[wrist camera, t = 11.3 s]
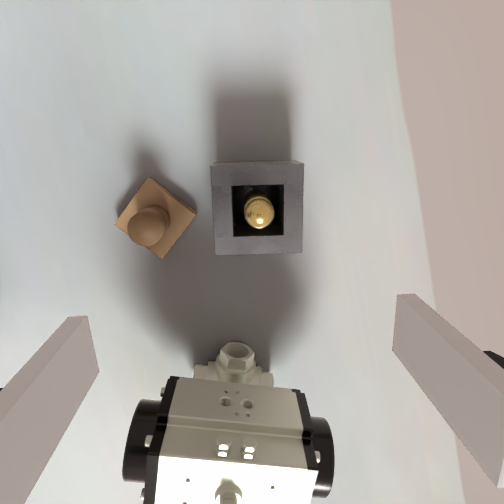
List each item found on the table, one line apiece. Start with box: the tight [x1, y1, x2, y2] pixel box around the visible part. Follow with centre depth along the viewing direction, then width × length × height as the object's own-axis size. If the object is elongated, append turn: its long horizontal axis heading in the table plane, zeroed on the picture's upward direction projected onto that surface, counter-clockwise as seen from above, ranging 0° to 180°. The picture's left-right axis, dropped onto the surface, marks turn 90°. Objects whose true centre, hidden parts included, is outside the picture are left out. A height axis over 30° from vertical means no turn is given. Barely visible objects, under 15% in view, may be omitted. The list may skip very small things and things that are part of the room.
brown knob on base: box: [114, 177, 197, 259], centre depth 35 cm, size 6×6×6 cm
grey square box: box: [210, 161, 304, 255], centre depth 34 cm, size 8×8×5 cm
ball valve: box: [122, 342, 334, 504], centre depth 35 cm, size 18×8×18 cm, turn 81°
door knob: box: [233, 184, 278, 228], centre depth 33 cm, size 6×6×9 cm
